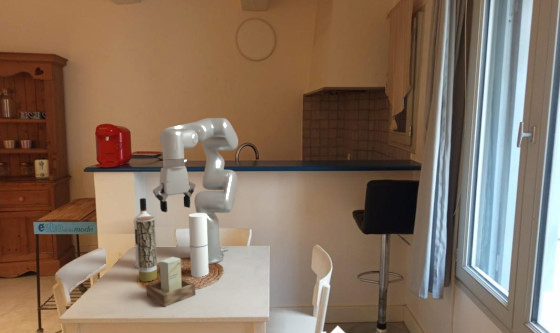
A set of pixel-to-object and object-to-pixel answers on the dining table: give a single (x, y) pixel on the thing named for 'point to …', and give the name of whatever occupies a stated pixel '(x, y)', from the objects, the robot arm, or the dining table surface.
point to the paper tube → (146, 248)
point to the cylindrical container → (198, 244)
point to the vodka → (142, 213)
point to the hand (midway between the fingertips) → (175, 209)
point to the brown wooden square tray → (170, 293)
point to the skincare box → (170, 274)
